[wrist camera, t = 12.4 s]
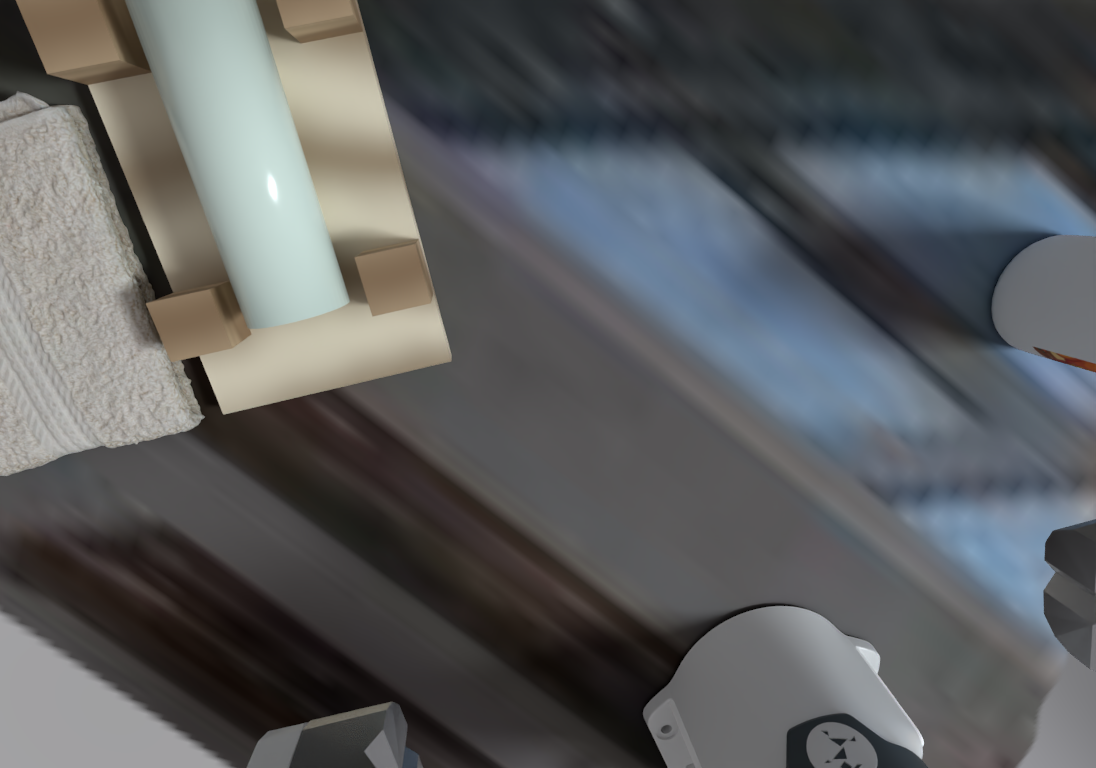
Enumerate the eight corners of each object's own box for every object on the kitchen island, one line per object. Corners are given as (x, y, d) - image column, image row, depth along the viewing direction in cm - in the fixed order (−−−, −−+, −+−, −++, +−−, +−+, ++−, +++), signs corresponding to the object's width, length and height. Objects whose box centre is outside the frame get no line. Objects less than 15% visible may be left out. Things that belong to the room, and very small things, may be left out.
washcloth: (82, 89, 30) (42, 78, 27) (218, 419, 36) (197, 439, 33) (-173, 137, 29) (-242, 132, 26) (10, 467, 35) (-31, 493, 32)
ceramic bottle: (357, 294, 33) (340, 311, 28) (264, 314, 33) (232, 336, 28) (236, -98, 27) (190, -158, 23) (122, -78, 27) (51, -134, 22)
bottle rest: (451, 355, 36) (450, 376, 32) (230, 407, 35) (202, 435, 31) (322, -131, 28) (300, -183, 24) (33, -81, 27) (-39, -125, 23)
